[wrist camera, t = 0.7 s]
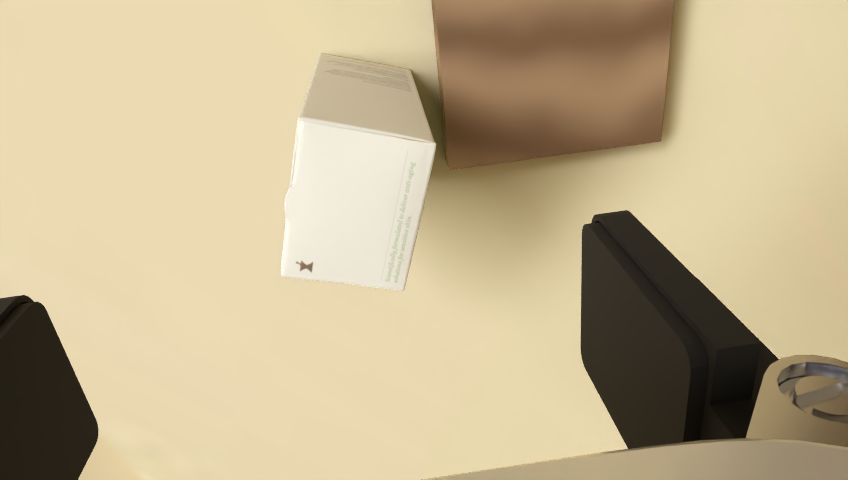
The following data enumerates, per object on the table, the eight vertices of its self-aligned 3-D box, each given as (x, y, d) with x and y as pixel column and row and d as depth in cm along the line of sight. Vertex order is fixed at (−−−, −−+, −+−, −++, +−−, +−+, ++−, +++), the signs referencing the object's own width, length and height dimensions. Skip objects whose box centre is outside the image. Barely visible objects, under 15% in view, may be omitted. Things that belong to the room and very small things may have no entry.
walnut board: (421, -113, 36) (425, -114, 34) (671, -141, 37) (687, -143, 35) (445, 159, 44) (449, 169, 43) (648, 132, 45) (661, 141, 43)
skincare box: (390, 179, 45) (408, 300, 31) (297, 164, 43) (274, 284, 30) (413, 63, 41) (445, 144, 27) (313, 44, 40) (294, 119, 26)
